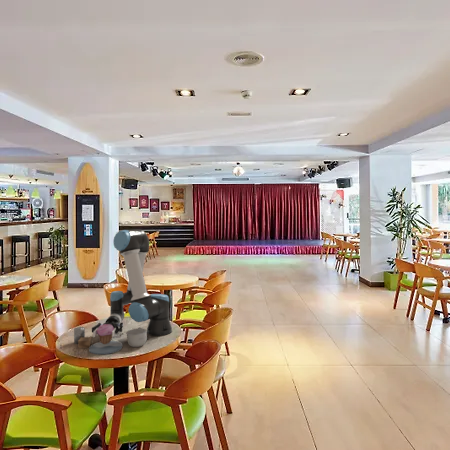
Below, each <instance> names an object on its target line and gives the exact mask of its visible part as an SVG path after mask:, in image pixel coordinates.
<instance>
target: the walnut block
mask: <svg viewBox="0 0 450 450" xmlns="http://www.w3.org/2000/svg"><path fill="white" fill-rule="evenodd" d="M77 345H78V346H77V347H78V349H86V348H88V349H89V347H90V346H91V345H93V336H85V337H81V338H80V339H79V341H78V344H77Z"/></svg>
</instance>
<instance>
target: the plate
mask: <svg viewBox="0 0 450 450" xmlns="http://www.w3.org/2000/svg"><path fill="white" fill-rule="evenodd" d="M122 349H123V343H122V342H121V341H116V340H111V341H110V343H107V344H103V343H101V342H100V341H99V342H96V343H92V345H91V346H90V347H89V348H88V352H89V353H90V354H92V355H93V354H94V355H101V356H102V355H110V354H113V353H114V354H115V353H116V352H117V353H118V352H119V351H121V350H122Z"/></svg>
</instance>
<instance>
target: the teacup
mask: <svg viewBox="0 0 450 450" xmlns="http://www.w3.org/2000/svg"><path fill="white" fill-rule="evenodd" d="M125 334H126V340H127V341H126V342H127V343H128V345H129V346H130V347H132V348H139V347H143V346H144V345H145V344H146V342H147V339H148V337H147V336H148V334H147V329H146V328H143V327H137V328H132V329H130V330H128V331H126V333H125Z"/></svg>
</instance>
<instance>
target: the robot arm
mask: <svg viewBox="0 0 450 450" xmlns="http://www.w3.org/2000/svg"><path fill="white" fill-rule="evenodd" d="M113 246H114V248H115V249H116V250H117V251H119V254H120V256H122V257H123V259H124V264H125V269H126V273H127V278H128V284H127V290H126V292H123V291H121V290H114V291H111V293H110V296H109V297H110V298H109V301H110V303H109V304H110V315H109V316H108V318H106V320H105V321H104V323H102V322H98V323H97V324H96V325H94V326H93V327H91V333H92V335H93V336H92V338H96V336H97V335H98V334H97V329H98V328H99V326H100V325H103V324H111V325H112V326H113V327H114V330H113V331H112V338H113V337H114V336H115V335H117V334H118V333H119V332H120V333H122V332H123V328H124V322H122V321H124V318H125V312H124V306H127V305H129V304H130V305H129V306H128V315H129V316H130V319H132V320H133V321H134V322H136V323H142V322H147V321H148V320H149V321H148V325H147V329H146V330H147V331H146V332H147V335H150V336H155V337H156V336H157V337H159V336H165V335H166V336H167V335H169V334H171V333H172V332H173V326H172V324H171V321H170V298H169V295H167V294H163V293H151V294H149V293H148V290H147V287H146V286H147V285H146V281H145V276H144V267H145V261H146V257H147V256H146V255H147V254H148V253H149V251H150V250H149V249H150V240H149V236H148V234H147V232H145V231H144V230H142V229H137V228H136V229H122V230H119V231H117V232H116V233H115V235H114V237H113Z"/></svg>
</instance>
